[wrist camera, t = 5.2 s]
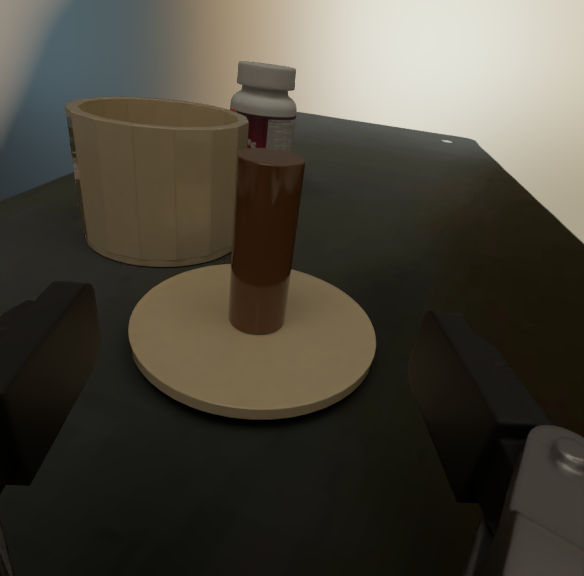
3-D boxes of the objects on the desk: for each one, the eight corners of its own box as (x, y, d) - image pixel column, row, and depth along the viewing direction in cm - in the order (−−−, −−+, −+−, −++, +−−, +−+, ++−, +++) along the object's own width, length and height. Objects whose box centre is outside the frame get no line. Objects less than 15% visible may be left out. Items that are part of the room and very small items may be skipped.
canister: (103, 279, 25) (85, 128, 21) (72, 213, 33) (54, 93, 28) (266, 253, 30) (278, 130, 26) (207, 202, 38) (208, 100, 34)
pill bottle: (214, 184, 43) (217, 58, 37) (258, 177, 47) (267, 62, 41) (255, 203, 39) (266, 67, 34) (299, 193, 44) (315, 70, 38)
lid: (182, 479, 14) (176, 228, 10) (104, 302, 23) (81, 123, 18) (421, 376, 21) (487, 193, 16) (290, 267, 29) (309, 126, 24)
